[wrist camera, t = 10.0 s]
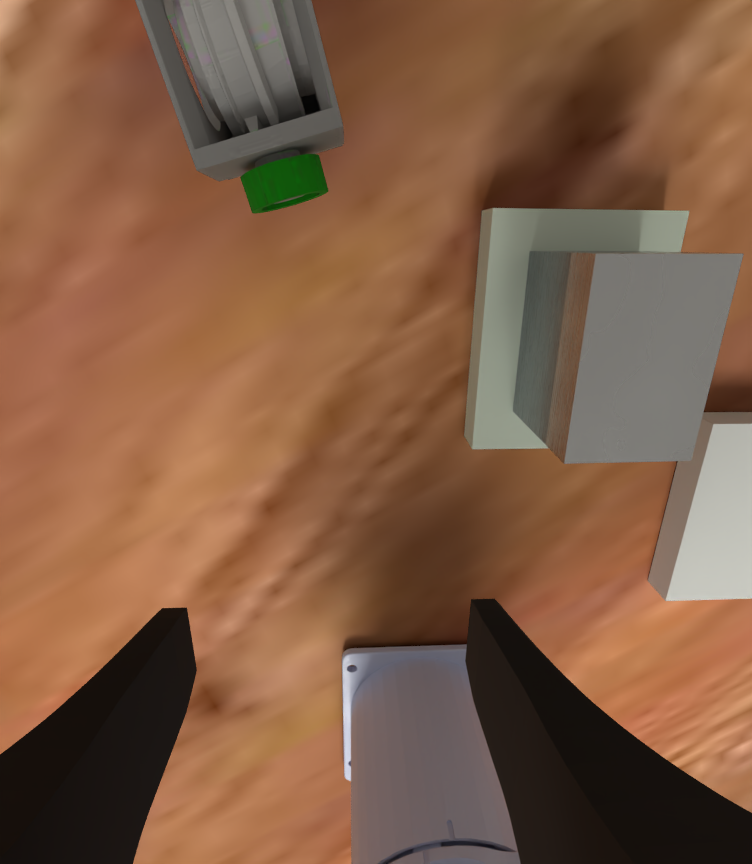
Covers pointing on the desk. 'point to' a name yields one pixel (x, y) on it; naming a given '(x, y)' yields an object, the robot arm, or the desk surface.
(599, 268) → the block
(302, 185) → the mechanical component
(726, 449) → the stand
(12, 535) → the desk surface
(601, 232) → the stand
